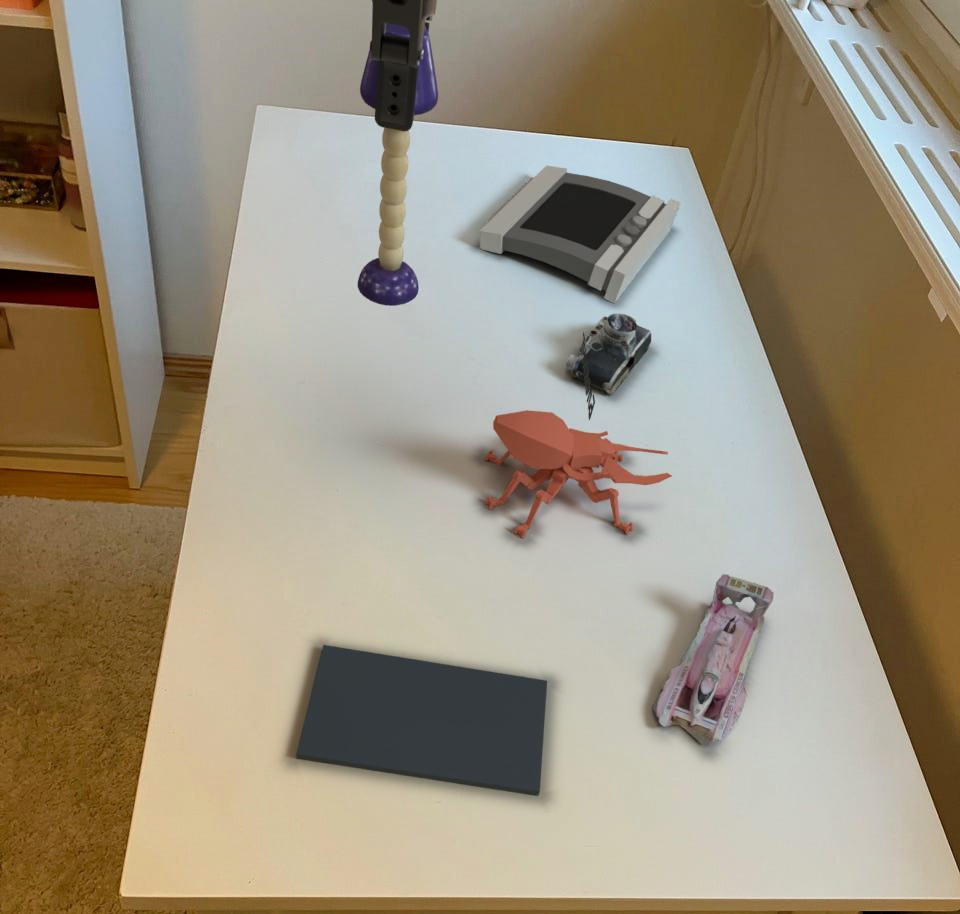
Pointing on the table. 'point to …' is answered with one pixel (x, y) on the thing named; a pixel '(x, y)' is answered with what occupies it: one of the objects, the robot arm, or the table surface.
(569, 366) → the camera
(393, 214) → the toy lamp
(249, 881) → the table surface
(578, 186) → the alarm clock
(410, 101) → the robot arm
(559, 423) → the beetle
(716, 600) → the boxed toy car
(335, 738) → the mat
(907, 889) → the table surface
